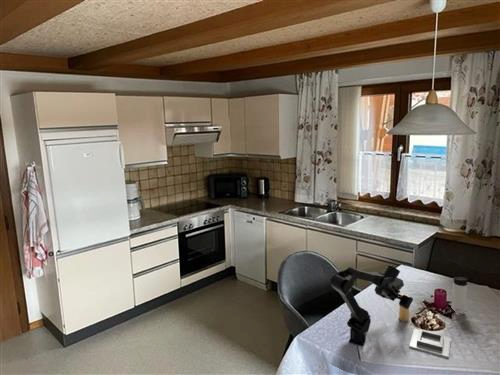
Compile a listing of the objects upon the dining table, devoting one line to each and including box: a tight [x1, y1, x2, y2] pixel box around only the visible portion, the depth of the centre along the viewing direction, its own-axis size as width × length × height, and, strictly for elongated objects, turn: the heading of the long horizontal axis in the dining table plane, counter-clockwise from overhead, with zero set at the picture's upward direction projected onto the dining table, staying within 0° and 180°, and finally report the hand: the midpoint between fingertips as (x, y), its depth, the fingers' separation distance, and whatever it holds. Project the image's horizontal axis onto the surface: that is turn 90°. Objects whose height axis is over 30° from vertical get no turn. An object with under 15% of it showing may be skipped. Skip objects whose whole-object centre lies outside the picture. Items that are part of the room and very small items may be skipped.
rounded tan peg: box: [398, 293, 410, 322], centre depth 191 cm, size 5×5×13 cm
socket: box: [409, 328, 452, 359], centre depth 171 cm, size 16×16×3 cm
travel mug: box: [450, 276, 468, 316], centre depth 194 cm, size 6×7×20 cm
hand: (400, 302), depth 188 cm, fingers open, 9 cm apart
